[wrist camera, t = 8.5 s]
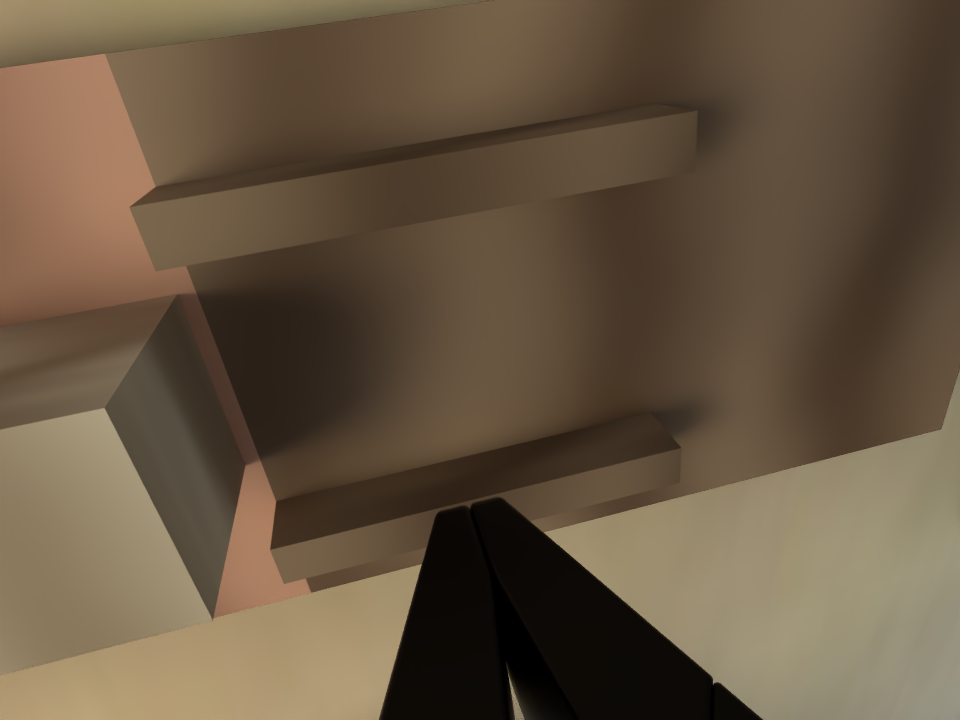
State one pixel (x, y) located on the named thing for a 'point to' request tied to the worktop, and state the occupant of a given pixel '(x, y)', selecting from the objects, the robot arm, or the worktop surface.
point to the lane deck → (511, 251)
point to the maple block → (109, 481)
